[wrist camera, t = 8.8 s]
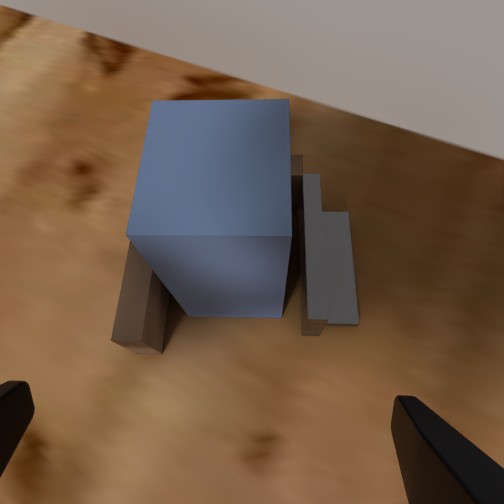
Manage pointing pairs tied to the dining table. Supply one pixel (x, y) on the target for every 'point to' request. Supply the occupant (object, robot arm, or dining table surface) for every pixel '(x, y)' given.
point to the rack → (159, 292)
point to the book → (217, 204)
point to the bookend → (324, 263)
